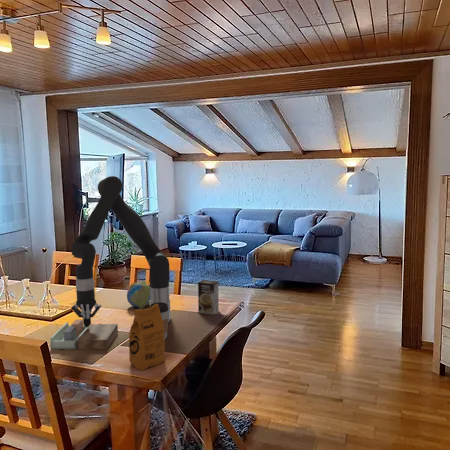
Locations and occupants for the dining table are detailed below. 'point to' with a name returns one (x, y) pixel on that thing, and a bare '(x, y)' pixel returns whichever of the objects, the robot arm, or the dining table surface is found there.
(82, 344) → the grey brown flat block
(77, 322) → the terracotta tile
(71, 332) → the slate tile
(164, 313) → the coffee cup
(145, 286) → the blue green round ball
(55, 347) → the tray
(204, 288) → the coffee box
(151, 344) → the coffee package
